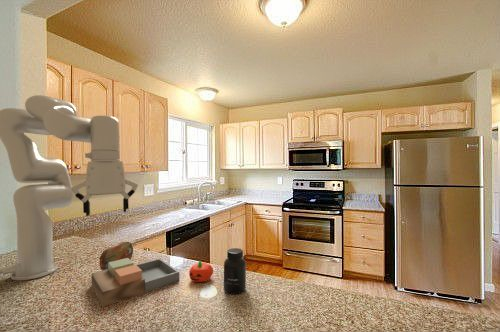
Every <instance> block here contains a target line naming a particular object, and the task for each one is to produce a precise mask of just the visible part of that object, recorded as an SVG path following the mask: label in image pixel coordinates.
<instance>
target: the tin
mask: <svg viewBox="0 0 500 332" xmlns="http://www.w3.org/2000/svg"><path fill="white" fill-rule="evenodd" d="M133 254H134V248H133V244H132V243H131V242H130V241H121V242H119V243H117V244H114V245H112V246H110V247H107V248H105V249H104V250H103V251H102V253H101V254H100V257H99V269H100V271H102V270H106V269H108V262H112V261H117V260H121V259H125V258H129V259H130V260H131V261H132V257H133Z"/></svg>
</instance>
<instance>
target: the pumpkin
mask: <svg viewBox="0 0 500 332" xmlns="http://www.w3.org/2000/svg"><path fill="white" fill-rule="evenodd" d="M188 271H189V273H188V275H189V279H190V280H191V281H192V282H193V283H204V282H207V281H208V280H210V279H211V277H212V276H213V275H214V269H213V266H212V264H210V263H207V262H202V261H201V260H199V261H198V262H197V263H194V264H193V265H192V266H191V267H190V269H189V270H188Z"/></svg>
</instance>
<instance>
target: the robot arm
mask: <svg viewBox="0 0 500 332" xmlns="http://www.w3.org/2000/svg"><path fill="white" fill-rule="evenodd" d="M24 106H25V107H24V108H25V109H23V108H16V107H14V108H13V107H11V108H10V107H9V108H8V107H7V108H3V109H1V110H0V140H1V142H2V144H3V146H4V148H5V149H6V153H7V157H8V160H9V165H10V169H11V171H12V175H13V178H14V180H15V181H16V182H18V183H21V184H28V185H23V186H21V187H19V188H17V189H16V190H15V191H14V193H13V196H12V197H13V198H12V201H13V206H14V208H15V214H16V232H17V233H16V236H17V238H16V240H17V241H16V246H17V247H16V261H15V264H12V265H11V266H10V265H9V266H3V267H0V275H1V274H3V276H4V275H9V274H10V279H11V280H13V281H27V280H32V279H34V280H35V279H38V278H42V277H45V276H48V275H49V274H52V273H54V272H56V271H57V270H58V268H59V264H58V263H55V262H54V261H53V253H54V251H53V248H54V247H53V240H54V239H53V238H54V237H53V236H54V235H53V233H54V232H53V225H54V224H53V220H52V218H51V217H50V215H48V213H46V211H48V210H54V209H60V208H62V209H63V208H66V207H69V206H71V205H72V204H73V202H74V200H75V197H76V198H77V199H78V200H79V201H81V202H82V206H83V214H85V217H88V216H90V215H91V203H90V201H89V199H90V198H91V197H92V196H102V195H103V196H104V195H105V196H107V195H119V194H121V196H123V200H122V202H123V203H122V205H123V210H122V211H123V213H127V210H129V208H130V207H129V199H130V198H131V197H132V196H133V195H134V194H135V192H136V190H137V188H138V183H135V182H132V181H130V180H128V179H126V173H125V167H124V166H125V165H124V162H123V161H122V160H121V159H120V158H121V157H120V156H121V155H120V153H121V152H120V151H121V149H120V122H119V119H118V118H116V117H114V116H110V115H95V116H92V117H91V118H86V117H82V116H78V115H77V114H78V113H77V108H76V106H75V105H74V104H73V103H72V102H70V101H67V100H63V99H60V98H56V97H50V96H48V95H47V96H46V95H43V94H42V95H41V94H40V95H39V94H37V95H32V96H30V97H28V98H27V99H26V101H25V103H24ZM26 134H31V135H32V134H34V135H44V136H54V137H55V138H56V139H57V138H58V139H60V140H64V141H67V142H68V141H69V142H81V143H89V144H90V151H89V152H88V153H87V152H86V153H85V154H84V156H85V157H84V158H86V159H87V158H88V159H89V160H90V161H87V165H86V174H85V181H83V182H81V183H78V184H77V185H74V186H73V184H72V180H71V177H70V174H69V173H70V172H69V169H68V166H67V165H66V164H65V162H64V161H63V160H62V159H59V158H55V157H54V158H53V157H43V156H41V155H40V152H39V148H38V145H37V144H36V143H35V142H34V141H33V140H32V138H30V137H29V136H27V135H26ZM126 185H127V186H130V187H131V189H130V190H129V192H126ZM84 187H85V193H86V194H85V195H83V194H82V193H81V191H80V190H81V189H82V188H84Z"/></svg>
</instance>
